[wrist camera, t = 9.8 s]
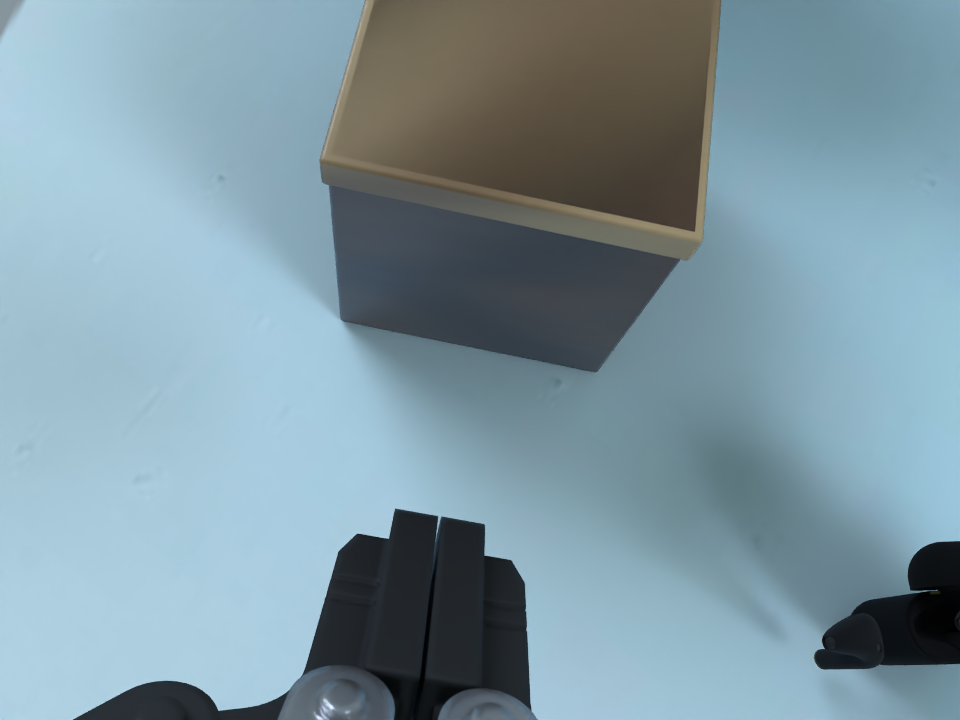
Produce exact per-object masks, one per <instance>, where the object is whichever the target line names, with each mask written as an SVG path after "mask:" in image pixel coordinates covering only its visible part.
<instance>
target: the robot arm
mask: <svg viewBox="0 0 960 720" xmlns="http://www.w3.org/2000/svg"><path fill="white" fill-rule="evenodd" d="M437 523H438V516H434V515H428V514H423V513H417V512H411V511H406V510H400V509H395V512H394V517H393V522H392V527H391V532H390V537H389V539H385V538H379V537H374V536H368V535H362V534H356V535H355V536H354V537H353V538H352V539H351V540H350V541H349V542H348V543H347V544H346V545H345V546H344V547H343V548H342V549H341V550H340V551H339V552H338V556H337V559H336V563H335V566H334V570H333V573H332V578H331V580H330V584H329V587H328V591H327V595H326V598H325V601H324V605H323V608H322V612H321V615H320V619H319V622H318V626H317V629H316V633H315V636H314V640H313V643H312V647H311V650H310V654H309V657H308V661H307V664H306V667H305V670H304V673H303V675H302V676H301V678H299V679H298V680H297V681H296V682H295V683H294V685H293V686H292V687H291V689H290V690H289V691H288V692H287V693H285V694H284V695H282V696H280V697H279V698H277V699H275V700H273V701H270V702H268V703H265V704H262V705H258V706H254V707H248V708H240V709H232V710H223V711H218V709H217V707H216V705H215V703H214V702H213V700H212V699H211V698H210V697H209V696H208V695H207V694H206V693H205V692H203V691H202V690H200V689H198V688H197V687H195V686H192V685H189V684H187V683H182V682H177V681H157V682H151V683H146V684H143V685H140V686H136V687H134V688H132V689H130V690H128V691H126V692H124V693H122V694H120V695H118V696H116V697H114V698H112V699H111V700H109V701H107V702H105V703H103V704H101V705H99V706H97V707H96V708H94V709H92V710H90V711H88V712H86V713H84V714H82V715H81V716H79V717H77V718H75V719H73V720H537V718H536V717H535V715H534V714H533V713H532V711H531V704H530V684H529V663H528V642H527V631H526V628H527V621H526V612H525V609H526V599H525V583H524V581H523V579H522V578H521V576H520V574H519V573H518V571H517V569H516V568H515V566H514V564H513V562H512V561H511V560H507V559H501V558H495V557H490V556H484V546H485V525H484V524H481V523H475V522H469V521H464V520H458V519H452V518H447V517H441V520H440V524H439V528H438V533H437V537H436V531H437ZM435 540H436V542H435Z"/></svg>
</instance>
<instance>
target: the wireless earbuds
mask: <svg viewBox="0 0 960 720" xmlns="http://www.w3.org/2000/svg"><path fill="white" fill-rule="evenodd" d="M908 581H909V586H910V590H915V591H923V590H938V591H927V592H920V593H913V594H907V595H900V596H893V597H887V598H880V599H873V600H869V601H866V602H863V603H862V604H860V605H859V606H858V607H856V609H855V610H854V611H853V612H852V614H851V616H849V617H847V618H845V619H843V620H841V621H840V622H838V623H836V624H835V625H833V626H832V627H831V628H829V629H828V630H827V631H826V633H825V634H824V636H823V638H822V643H823V646H824V648H825V649H820V650H817V651H816V652H815V655H814V659H815V662H816V664H817V666H818V667H819V668H821V669H869V668H873V667H876V666H878V665H879V664H880V665H939V664H960V541H954V542H936V543H932V544H929V545H927V546H925V547H923V548H922V549H920V550H919V551H918V552H917V553H916V554H915V555H914V556H913V558H912V560H911V562H910V564H909V568H908Z"/></svg>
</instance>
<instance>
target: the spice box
mask: <svg viewBox="0 0 960 720" xmlns="http://www.w3.org/2000/svg"><path fill="white" fill-rule="evenodd" d="M720 12H721V0H365V3H364V6H363V10H362V13H361V17H360V20H359V24H358V27H357V31H356V34H355V38H354V41H353V45H352V48H351V52H350V55H349V59H348V62H347V66H346V69H345V73H344V76H343V80H342V83H341V87H340V90H339V94H338V97H337V101H336V104H335V108H334V111H333V115H332V118H331V122H330V125H329V128H328V132H327V135H326V139H325V142H324V146H323V149H322V153H321V156H320V169H321V178H322V182H323V183H324V184H327V185H329V192H330V204H331V215H332V226H333V238H334V249H335V261H336V272H337V284H338V295H339V306H340V317H341V320H342V321H346V322H351V323H356V324H361V325H366V326H370V327H375V328H380V329H385V330H390V331H395V332H400V333H405V334H410V335H415V336H420V337H425V338H430V339H435V340H439V341H444V342H449V343H454V344H459V345H464V346H469V347H474V348H479V349H484V350H489V351H494V352H499V353H504V354H508V355H513V356H518V357H523V358H528V359H533V360H538V361H543V362H548V363H553V364H558V365H563V366H568V367H573V368H577V369H582V370H587V371H592V372H597V371H598V370H599V369H600V367H601V366H602V364H603V363H604V362H605V360H606V359H607V358H608V356H609V355H610V354H611V352H612V351H613V350H614V348H615V347H616V346H617V344H618V343H619V342H620V340H621V339H622V338H623V336H624V335H625V334H626V332H627V331H628V329H629V328H630V327H631V325H632V324H633V323H634V321H635V320H636V319H637V317H638V316H639V315H640V313H641V312H642V311H643V309H644V308H645V307H646V305H647V304H648V303H649V301H650V300H651V299H652V297H653V296H654V294H655V293H656V292H657V290H658V289H659V288H660V286H661V285H662V284H663V282H664V281H665V280H666V278H667V277H668V276H669V274H670V273H671V272H672V270H673V269H674V268H675V266H676V265H677V263H678V262H679V261H680V259H681V260H689V259H690V258H691V257H692V255H693V254H694V253H695V251H696V250H697V249H698V247H699V246H700V245H701V243H702V242H703V232H704V219H705V206H706V193H707V181H708V168H709V155H710V142H711V129H712V116H713V103H714V90H715V77H716V64H717V51H718V38H719V25H720Z"/></svg>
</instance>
